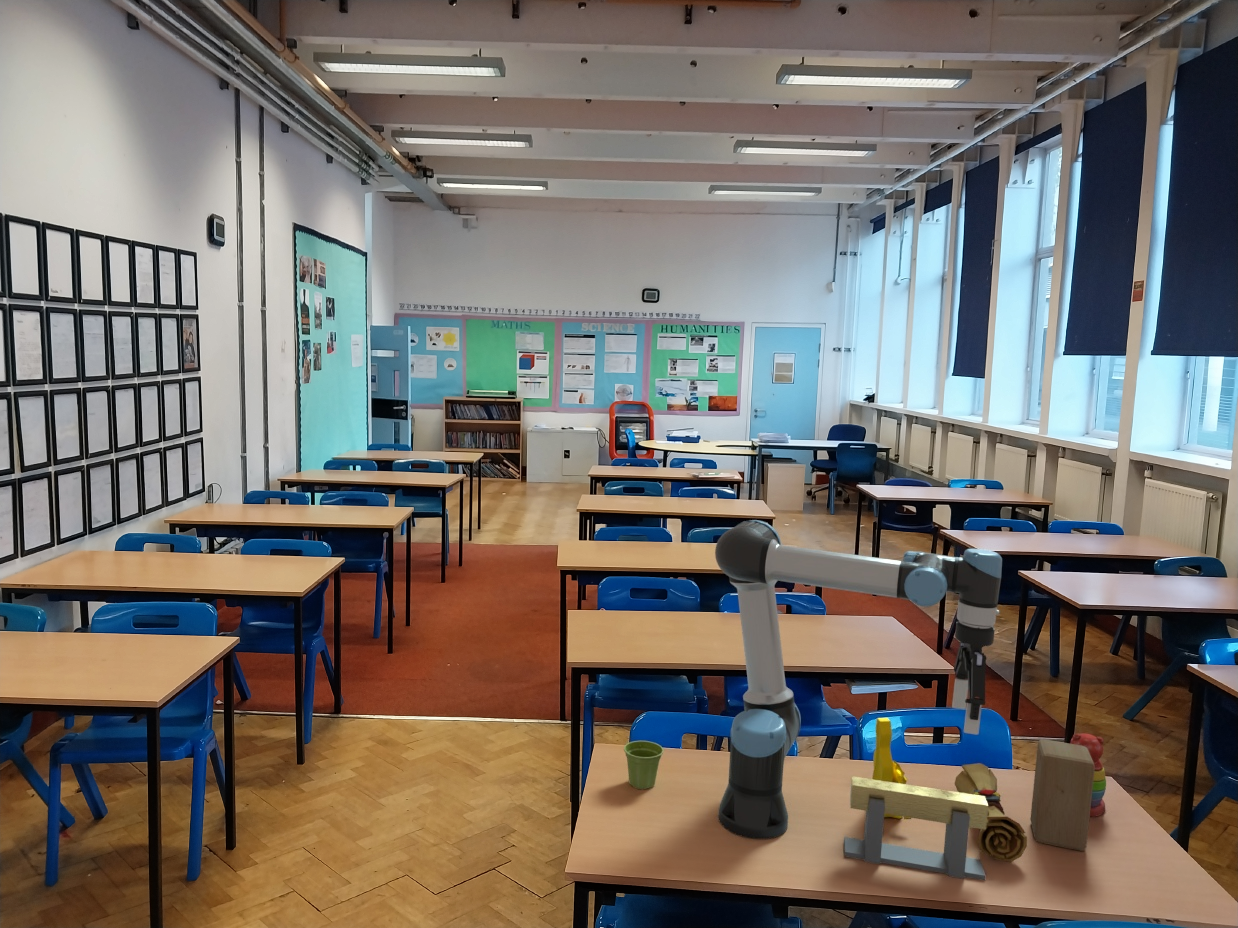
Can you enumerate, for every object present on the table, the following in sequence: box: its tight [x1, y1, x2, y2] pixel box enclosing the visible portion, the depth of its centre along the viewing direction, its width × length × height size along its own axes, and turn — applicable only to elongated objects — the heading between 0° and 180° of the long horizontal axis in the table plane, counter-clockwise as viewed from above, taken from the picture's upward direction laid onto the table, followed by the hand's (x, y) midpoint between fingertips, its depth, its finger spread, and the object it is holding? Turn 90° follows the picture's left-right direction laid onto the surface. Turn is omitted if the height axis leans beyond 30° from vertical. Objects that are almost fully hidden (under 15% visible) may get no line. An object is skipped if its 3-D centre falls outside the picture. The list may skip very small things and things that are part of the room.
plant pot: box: [623, 740, 665, 790], centre depth 202 cm, size 9×9×9 cm
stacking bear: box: [1069, 732, 1107, 818], centre depth 200 cm, size 11×10×18 cm
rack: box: [843, 798, 986, 881], centre depth 174 cm, size 27×7×13 cm, turn 76°
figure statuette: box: [871, 717, 912, 820], centre depth 193 cm, size 18×8×22 cm, turn 2°
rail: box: [849, 776, 988, 830], centre depth 173 cm, size 26×4×5 cm, turn 76°
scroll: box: [954, 762, 1028, 863], centre depth 187 cm, size 27×10×10 cm, turn 169°
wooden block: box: [1029, 738, 1095, 852], centre depth 185 cm, size 10×10×20 cm
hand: (964, 720), depth 181 cm, fingers open, 13 cm apart
